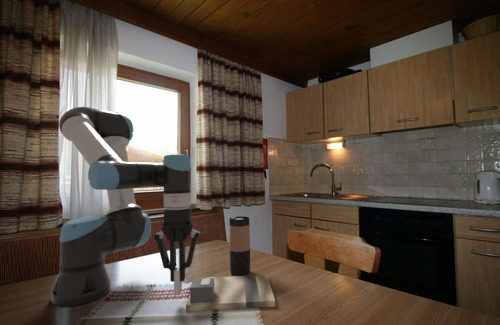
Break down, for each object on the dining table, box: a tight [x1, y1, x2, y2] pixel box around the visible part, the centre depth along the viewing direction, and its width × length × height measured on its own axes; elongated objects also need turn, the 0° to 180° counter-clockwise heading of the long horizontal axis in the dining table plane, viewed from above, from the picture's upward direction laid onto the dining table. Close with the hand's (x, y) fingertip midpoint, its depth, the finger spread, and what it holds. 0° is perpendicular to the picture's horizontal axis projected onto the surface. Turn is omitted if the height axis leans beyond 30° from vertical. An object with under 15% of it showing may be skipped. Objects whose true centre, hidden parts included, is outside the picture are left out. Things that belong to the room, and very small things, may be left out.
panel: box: [185, 274, 276, 312], centre depth 76 cm, size 24×18×2 cm
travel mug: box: [228, 215, 251, 276], centre depth 93 cm, size 8×8×20 cm
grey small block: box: [189, 277, 214, 303], centre depth 71 cm, size 6×6×4 cm
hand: (178, 292), depth 70 cm, fingers closed
